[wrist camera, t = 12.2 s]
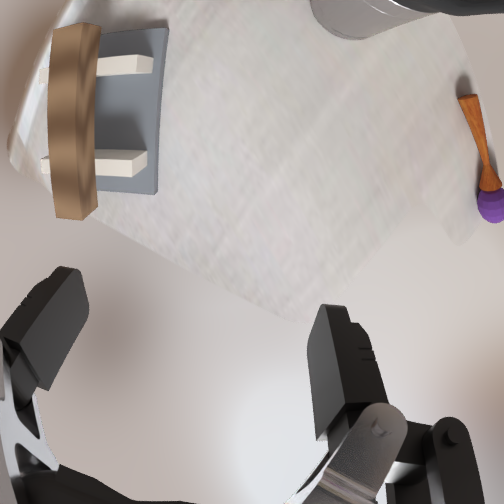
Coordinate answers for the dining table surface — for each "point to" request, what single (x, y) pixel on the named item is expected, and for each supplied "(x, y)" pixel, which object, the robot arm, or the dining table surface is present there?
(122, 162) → the ridge stand
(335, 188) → the dining table surface
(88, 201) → the brown wooden bar
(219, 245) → the dining table surface
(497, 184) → the kendama
